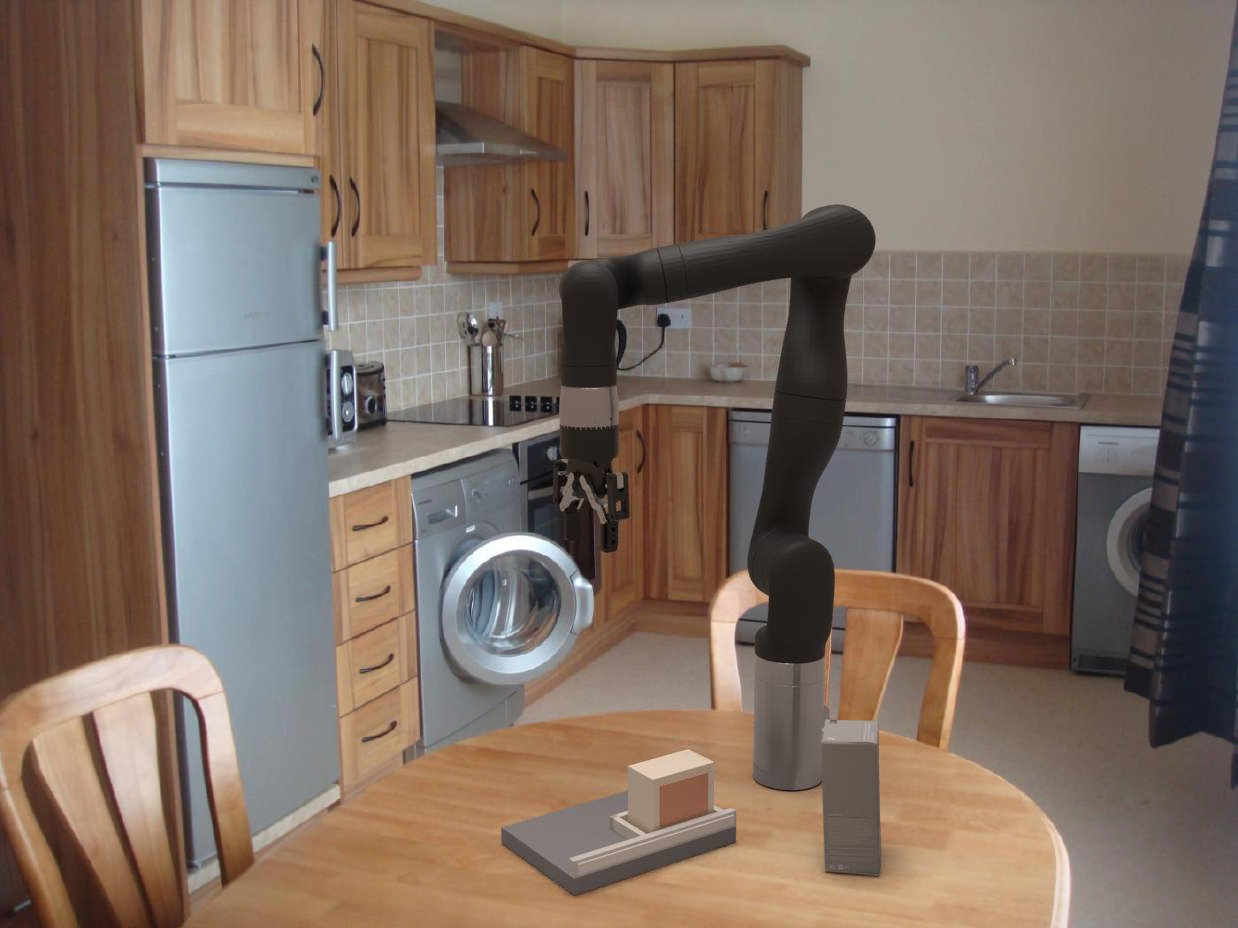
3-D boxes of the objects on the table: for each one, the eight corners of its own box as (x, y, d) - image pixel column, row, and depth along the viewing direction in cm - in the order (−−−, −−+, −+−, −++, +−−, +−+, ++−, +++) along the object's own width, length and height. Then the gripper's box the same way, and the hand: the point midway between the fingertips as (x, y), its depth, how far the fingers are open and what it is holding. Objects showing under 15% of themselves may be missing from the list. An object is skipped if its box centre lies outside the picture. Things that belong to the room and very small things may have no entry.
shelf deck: (656, 796, 175) (656, 767, 175) (737, 842, 162) (737, 810, 162) (501, 842, 162) (500, 811, 162) (575, 896, 149) (574, 862, 149)
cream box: (688, 811, 166) (688, 749, 165) (714, 825, 162) (714, 762, 161) (627, 829, 161) (627, 765, 160) (653, 845, 157) (653, 780, 156)
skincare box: (880, 878, 153) (884, 744, 151) (816, 872, 155) (819, 740, 152) (881, 845, 161) (885, 718, 159) (820, 840, 163) (823, 714, 160)
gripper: (646, 424, 169) (646, 552, 171) (583, 412, 180) (584, 531, 183) (595, 429, 164) (596, 560, 167) (534, 417, 176) (536, 539, 179)
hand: (590, 545), depth 175 cm, fingers open, 8 cm apart
